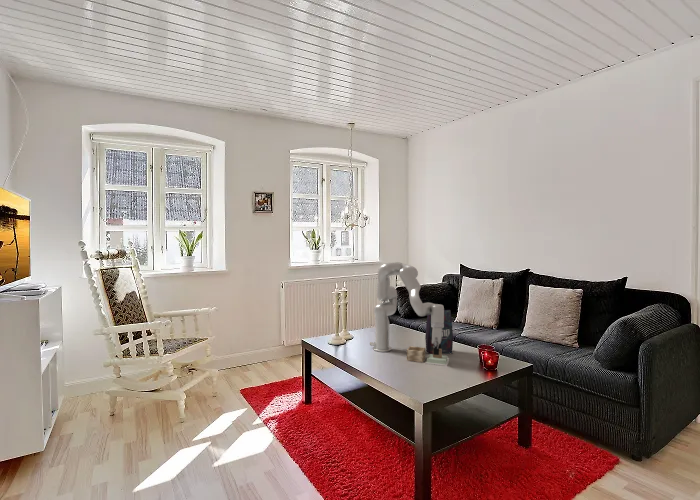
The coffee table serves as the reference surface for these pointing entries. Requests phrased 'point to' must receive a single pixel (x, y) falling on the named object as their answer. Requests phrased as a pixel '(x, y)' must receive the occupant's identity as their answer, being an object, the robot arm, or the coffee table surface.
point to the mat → (437, 363)
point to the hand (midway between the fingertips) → (437, 352)
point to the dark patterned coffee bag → (446, 334)
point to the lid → (437, 358)
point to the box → (416, 354)
